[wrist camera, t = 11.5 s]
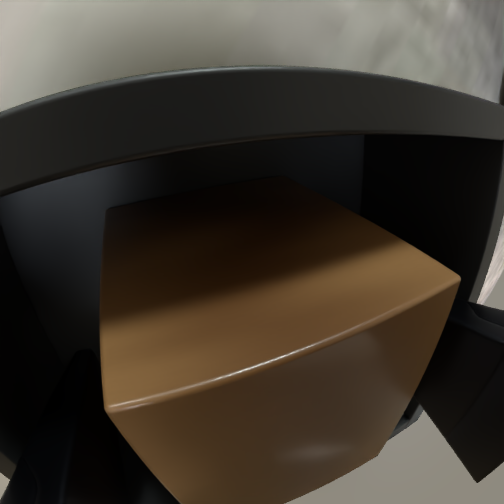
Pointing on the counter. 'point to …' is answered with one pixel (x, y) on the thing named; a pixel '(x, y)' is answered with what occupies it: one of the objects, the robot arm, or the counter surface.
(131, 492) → the open box
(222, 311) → the cardboard box
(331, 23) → the counter surface
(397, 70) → the counter surface
